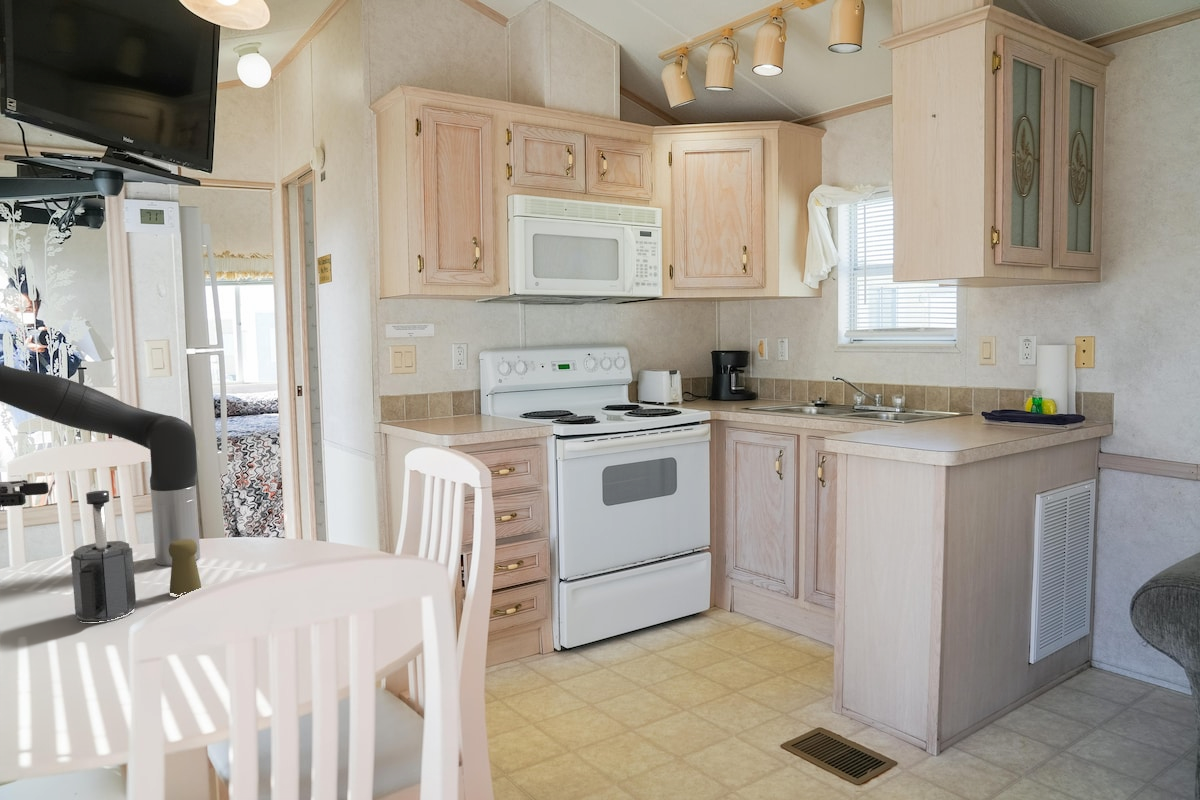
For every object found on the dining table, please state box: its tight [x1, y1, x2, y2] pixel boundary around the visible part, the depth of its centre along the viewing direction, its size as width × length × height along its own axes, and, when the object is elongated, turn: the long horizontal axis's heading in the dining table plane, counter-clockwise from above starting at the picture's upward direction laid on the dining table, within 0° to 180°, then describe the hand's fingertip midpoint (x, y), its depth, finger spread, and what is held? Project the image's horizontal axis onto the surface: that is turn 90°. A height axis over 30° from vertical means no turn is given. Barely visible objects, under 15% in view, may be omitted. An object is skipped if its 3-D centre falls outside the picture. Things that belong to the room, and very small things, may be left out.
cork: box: [169, 539, 202, 599], centre depth 167 cm, size 6×6×11 cm
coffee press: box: [70, 540, 137, 622], centre depth 153 cm, size 12×9×13 cm
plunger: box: [85, 490, 110, 550], centre depth 154 cm, size 6×6×21 cm
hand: (36, 493), depth 153 cm, fingers open, 8 cm apart
